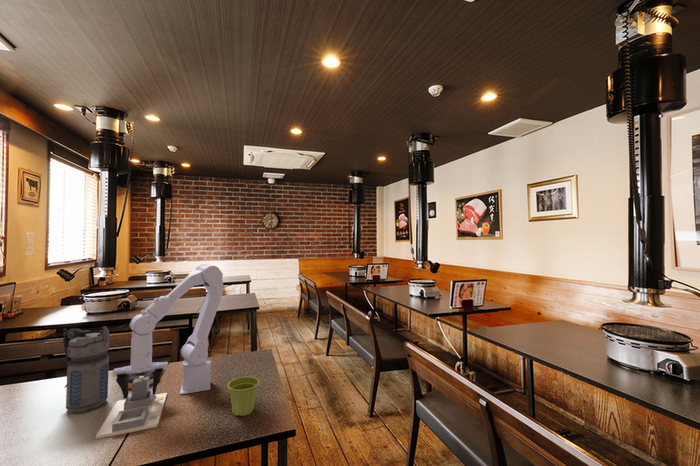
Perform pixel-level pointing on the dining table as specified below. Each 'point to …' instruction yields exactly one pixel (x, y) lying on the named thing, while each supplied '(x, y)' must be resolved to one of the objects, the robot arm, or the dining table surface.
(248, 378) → the plant pot
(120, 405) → the panel
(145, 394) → the plug
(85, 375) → the beverage bottle
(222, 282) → the robot arm
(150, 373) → the donut
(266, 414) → the dining table surface
